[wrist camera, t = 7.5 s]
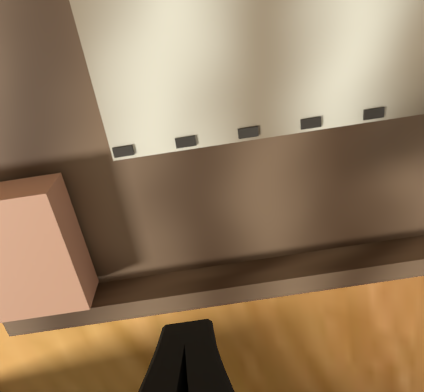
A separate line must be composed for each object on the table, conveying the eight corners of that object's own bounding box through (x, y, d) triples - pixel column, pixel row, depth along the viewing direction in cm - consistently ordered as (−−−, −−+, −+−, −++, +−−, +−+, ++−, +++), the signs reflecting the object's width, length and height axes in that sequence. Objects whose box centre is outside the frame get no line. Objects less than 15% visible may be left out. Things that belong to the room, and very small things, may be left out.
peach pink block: (61, 172, 17) (45, 193, 15) (98, 281, 19) (89, 309, 18) (-77, 193, 17) (-108, 216, 15) (-19, 298, 19) (-40, 328, 18)
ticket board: (478, -91, 14) (540, -110, 12) (428, 243, 21) (461, 276, 19) (-108, 0, 14) (-168, 1, 12) (32, 302, 21) (12, 342, 19)
